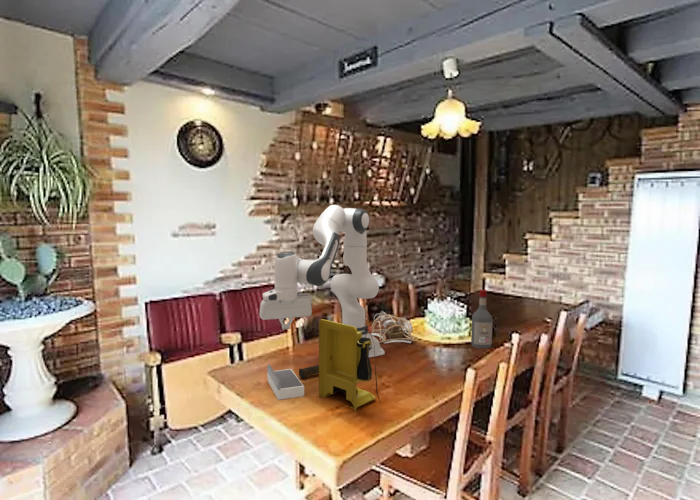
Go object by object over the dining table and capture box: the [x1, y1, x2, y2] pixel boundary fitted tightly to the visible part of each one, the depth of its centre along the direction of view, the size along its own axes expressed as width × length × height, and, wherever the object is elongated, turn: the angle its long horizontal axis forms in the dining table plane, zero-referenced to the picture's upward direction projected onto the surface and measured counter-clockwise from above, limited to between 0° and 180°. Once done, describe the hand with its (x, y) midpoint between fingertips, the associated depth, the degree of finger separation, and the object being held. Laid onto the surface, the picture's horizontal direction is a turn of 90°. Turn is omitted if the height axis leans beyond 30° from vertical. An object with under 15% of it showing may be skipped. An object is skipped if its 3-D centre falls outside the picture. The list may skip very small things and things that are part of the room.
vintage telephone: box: [318, 318, 382, 412], centre depth 163 cm, size 31×14×30 cm, turn 48°
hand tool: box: [298, 364, 319, 379], centre depth 189 cm, size 19×4×5 cm, turn 126°
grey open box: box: [266, 364, 305, 401], centre depth 174 cm, size 10×20×7 cm, turn 22°
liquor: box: [470, 289, 494, 349], centre depth 228 cm, size 9×9×30 cm
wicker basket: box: [369, 310, 415, 344], centre depth 244 cm, size 28×35×16 cm
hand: (286, 328), depth 172 cm, fingers closed
